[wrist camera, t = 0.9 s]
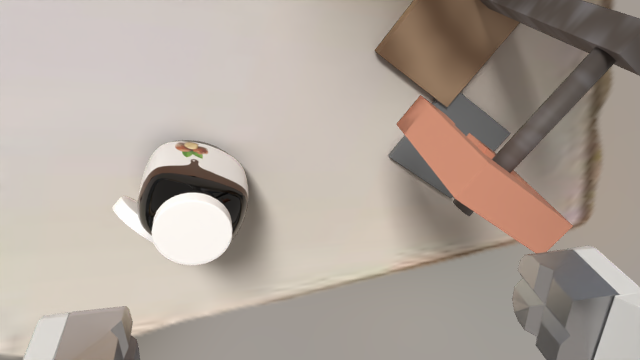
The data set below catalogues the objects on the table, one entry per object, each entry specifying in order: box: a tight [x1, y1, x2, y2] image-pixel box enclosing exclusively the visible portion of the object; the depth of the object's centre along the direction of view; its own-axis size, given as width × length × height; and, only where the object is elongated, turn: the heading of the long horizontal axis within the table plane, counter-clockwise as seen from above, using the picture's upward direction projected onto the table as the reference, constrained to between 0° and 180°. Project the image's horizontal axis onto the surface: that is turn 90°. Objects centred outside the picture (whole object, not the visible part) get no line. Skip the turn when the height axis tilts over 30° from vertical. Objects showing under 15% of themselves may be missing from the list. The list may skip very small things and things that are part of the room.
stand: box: [375, 0, 640, 216], centre depth 44 cm, size 17×10×22 cm, turn 142°
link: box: [397, 95, 573, 253], centre depth 40 cm, size 3×9×12 cm, turn 52°
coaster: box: [389, 93, 511, 198], centre depth 60 cm, size 10×10×1 cm
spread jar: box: [113, 140, 248, 265], centre depth 51 cm, size 12×11×12 cm
